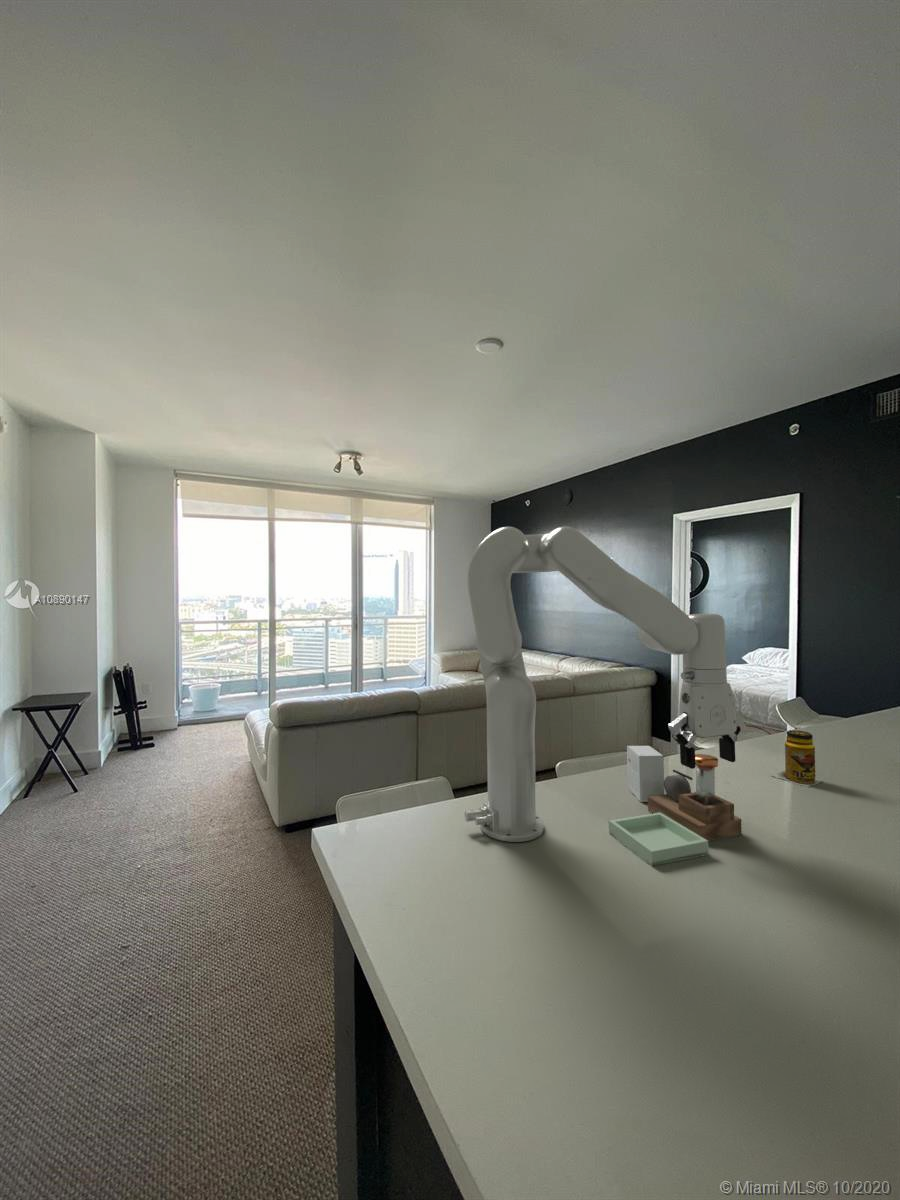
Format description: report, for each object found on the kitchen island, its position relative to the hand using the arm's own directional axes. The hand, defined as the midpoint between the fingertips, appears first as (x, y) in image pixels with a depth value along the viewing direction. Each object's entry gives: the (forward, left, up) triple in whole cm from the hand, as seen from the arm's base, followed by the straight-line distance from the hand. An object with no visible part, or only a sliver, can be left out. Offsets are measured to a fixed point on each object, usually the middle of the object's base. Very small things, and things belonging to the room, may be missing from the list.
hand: (708, 763), depth 93 cm
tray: (-14, -1, -13) cm, 19 cm away
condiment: (+42, +15, -13) cm, 47 cm away
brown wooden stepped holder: (-1, +4, -13) cm, 14 cm away
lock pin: (-1, 0, -10) cm, 10 cm away
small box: (-1, +18, -13) cm, 22 cm away
